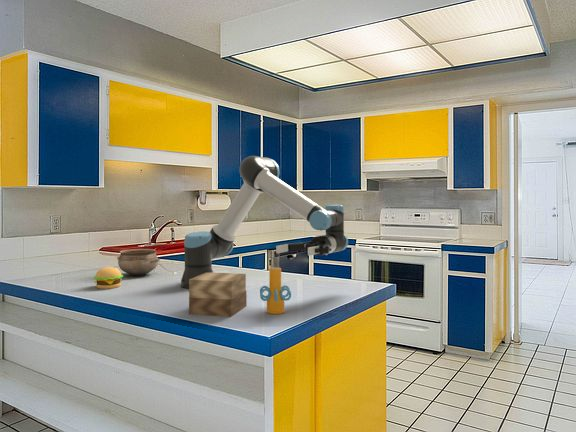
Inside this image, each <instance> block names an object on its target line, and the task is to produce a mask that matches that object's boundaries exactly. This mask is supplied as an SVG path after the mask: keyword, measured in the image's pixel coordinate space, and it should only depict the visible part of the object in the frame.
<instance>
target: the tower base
mask: <svg viewBox="0 0 576 432" xmlns="http://www.w3.org/2000/svg"><path fill="white" fill-rule="evenodd" d="M188 305H189V306H188V311H189V312H188V315H196V316H197V315H200V316H211V317H227V318H228V317H230V318H232V317H233V316H235V315H236V314H237V313H239V312H241V311H242V310H243V309H245V308H246V307H248V306H247V289H246V290H245V291H244V292H242V293H241V294H239V295H238V296H236V297H235V298H233V299H232V300H231V299H210V298H190V297H189V296H188Z"/></svg>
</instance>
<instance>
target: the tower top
mask: <svg viewBox="0 0 576 432" xmlns="http://www.w3.org/2000/svg"><path fill="white" fill-rule="evenodd" d="M246 275H247V274H246V273H237V272H235V273H234V272H213V273H211V272H206V273H204V274H201V275H199V276H196V277H194V278H192V279H189V288H188V298H189V297H190V298H210V299H231V300H232V299H233V298H235V297H236V296H238V295H239V294H241V293H242V292H244V291H245V290H246V291H247V289H246V287H247V285H246V283H247V281H246V280H247V278H246Z"/></svg>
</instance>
